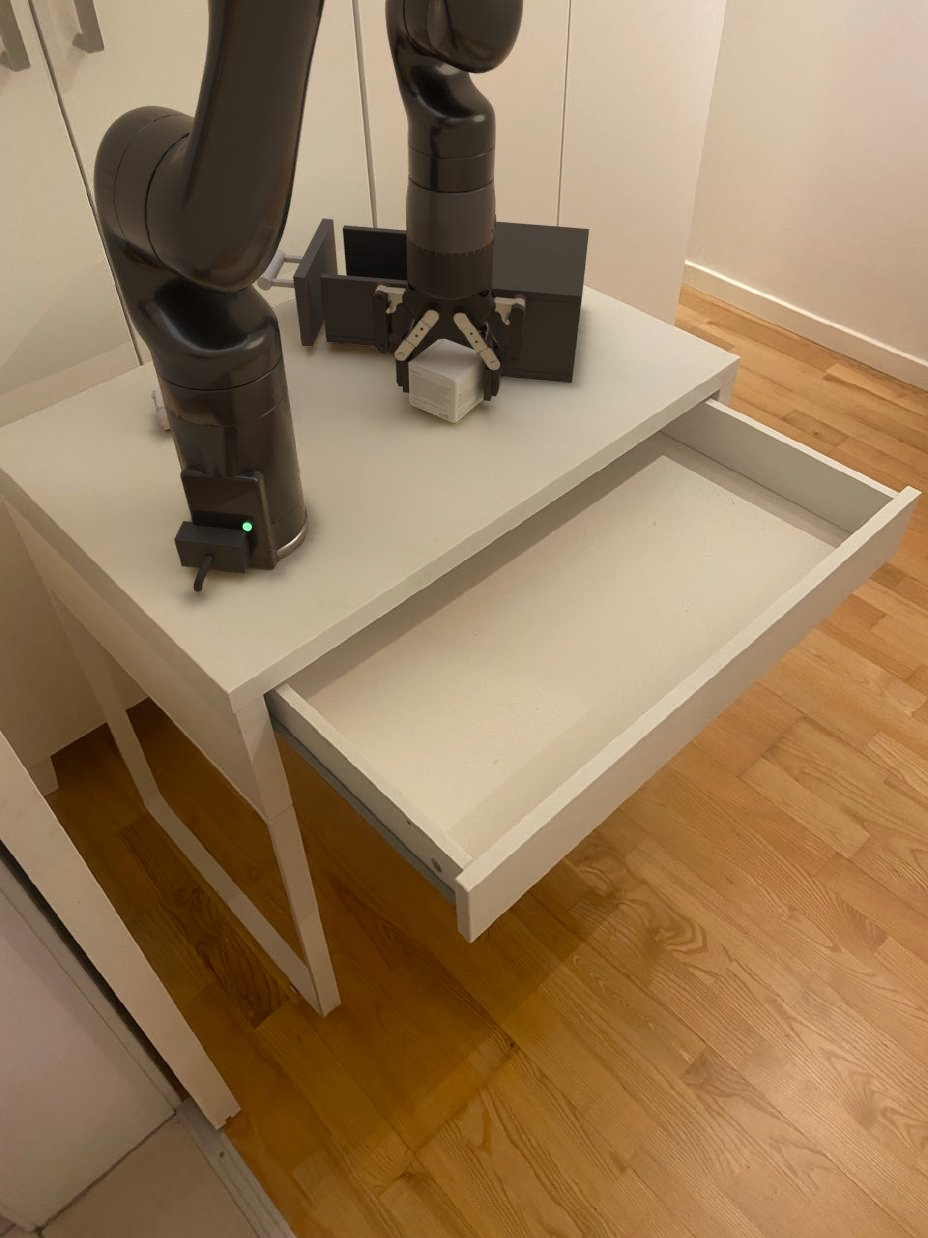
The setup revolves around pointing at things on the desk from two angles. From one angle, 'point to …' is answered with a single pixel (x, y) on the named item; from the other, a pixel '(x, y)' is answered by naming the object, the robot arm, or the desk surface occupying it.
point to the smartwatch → (160, 408)
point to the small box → (446, 380)
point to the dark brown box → (538, 296)
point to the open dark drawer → (343, 282)
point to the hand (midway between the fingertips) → (448, 392)
